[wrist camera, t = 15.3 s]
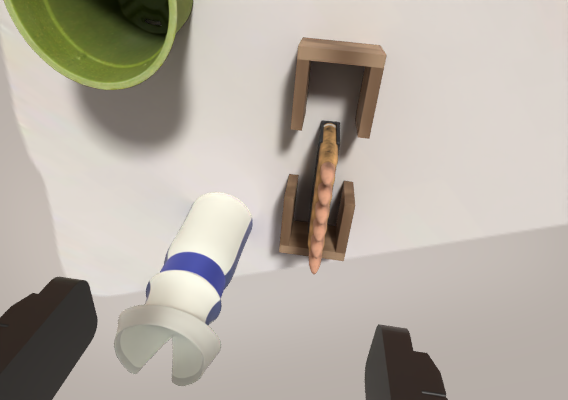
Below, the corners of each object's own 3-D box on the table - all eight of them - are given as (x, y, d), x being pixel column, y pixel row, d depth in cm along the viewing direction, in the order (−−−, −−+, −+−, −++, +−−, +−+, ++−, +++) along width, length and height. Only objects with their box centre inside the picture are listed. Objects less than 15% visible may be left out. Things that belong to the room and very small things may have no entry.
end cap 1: (295, 112, 38) (290, 129, 34) (302, 37, 34) (298, 45, 30) (365, 120, 38) (369, 138, 33) (380, 45, 34) (386, 55, 30)
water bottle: (250, 256, 48) (182, 478, 27) (184, 238, 48) (64, 447, 27) (264, 203, 44) (197, 417, 23) (192, 183, 44) (56, 380, 22)
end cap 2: (353, 182, 41) (355, 205, 37) (342, 234, 45) (343, 261, 41) (289, 174, 42) (284, 196, 37) (284, 226, 45) (279, 252, 41)
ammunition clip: (326, 211, 44) (323, 283, 33) (310, 209, 44) (302, 280, 33) (339, 122, 38) (341, 175, 28) (321, 120, 38) (316, 172, 28)
